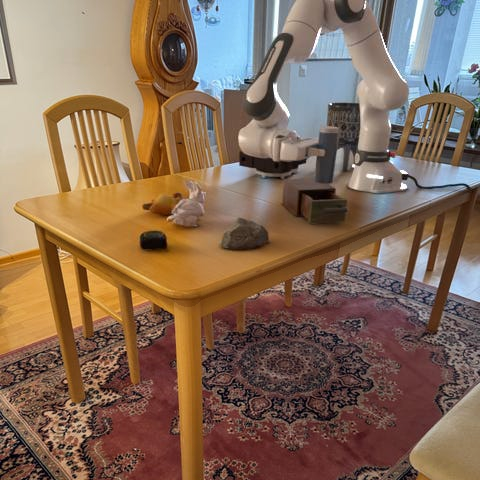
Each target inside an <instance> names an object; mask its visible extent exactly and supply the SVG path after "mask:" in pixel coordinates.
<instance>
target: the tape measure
mask: <svg viewBox="0 0 480 480" xmlns="http://www.w3.org/2000/svg"><path fill="white" fill-rule="evenodd" d="M167 240H168V239H167V236H166V233H165V232H164V231H161V230H156V229H155V230H146V231H144V232H142V233H140V235H139V246H140V249H142V250H146V251H147V250H150V251H155V250H165V249H167V248H168V242H167Z"/></svg>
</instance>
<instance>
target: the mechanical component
mask: <svg viewBox="0 0 480 480" xmlns="http://www.w3.org/2000/svg"><path fill="white" fill-rule="evenodd" d="M286 130H288V129H287V128H286ZM309 159H310V157H308V158H305V159H303V160H299V161H291V162H287V161H279V162H277V161H273V159H272V158H259V157H254V156H250V155H247V154H245V153H244V152H243V151H242V150H240V151H239V157H238V161H239V162H238V166H239V167H243V168H249V169H254V170H255V173H256V174H257V175H259V176H261V177H262V178H263V179H266V178H267V177H271V178H272V177H273V178H277V177H278V178H279V177H280V180H284V179H285V177H287V176H289V177H290V176H291V175H292V174H293V173H294V174H297V173H298V172H299V166H301V165H305V164H307V160H309Z"/></svg>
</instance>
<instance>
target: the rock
mask: <svg viewBox="0 0 480 480" xmlns="http://www.w3.org/2000/svg"><path fill="white" fill-rule="evenodd" d="M269 241H270V237H269V231H268V230H267V229H266V228H265V227H264V225H261V224H258V223H257V222H255V221H253V220H247V219H245V218H242V217H237V218H236V219H235V220H234V222H233V223H232V224H231V225H230V226H228V227H227V229H225V230H224V232H223V236H222V238H221V242H220V244H221V247H223V248H224V249H230V250H232V251H244V250H248V249H249V250H250V249H251V250H252V249H256V248H259V246H261V245H265V243H266V242H267V243H268V242H269Z"/></svg>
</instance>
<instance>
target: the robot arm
mask: <svg viewBox="0 0 480 480" xmlns="http://www.w3.org/2000/svg"><path fill="white" fill-rule="evenodd" d="M339 29H340V30H341V31H342V36H343V39H344V41H345V44H346V45H345V46H346V47H347V50H348V54H349V57H350V59H351V62H352V64H353V66H354V69H355V71H356V72H357V73H358V75H360V77H361V79H362V80H360V82H358V85H357V88H356V97H357V100H358V103H359V104H360V135H359V142H358V148H357V149H356V155H355V165H354V164H352V168H353V170H352V173H351V177H350V180H349V182H348V184H347V187H348V188H350V189H352V190H355V191H359V192H367V193H373V194H386V193H395V192H403V191H407V190H408V186H407V185H406V184H404V183H403V181H408V179H411V180H412V181H413V182H414V185H415V186H416V187H417V188H418V189H423V190H425V189H426V190H433V189H435V190H436V189H444V188H451V187H465V188H467V189H468V190H469V189H471V186H470V185H469V184H467V183H464V182H461V183H449V184H442V185H432V186H423V185H420V184H419V183H418V179H416V177H415V176H413V175H410V174H409V173H408V172H406V171H405V170H400V169H399V168H398V167H397V166H396V165H395V164H394V163H393V162H392V160H391V158H392V159H396V157H397V153H396V152H395V151H389V145H390V140H391V134H392V125H391V123H390V117H389V112H392V111H396V110H398V109H401V108H402V107H403V106H404V105H405V104H406V103H407V101H408V98H409V95H410V87H409V85H408V82H407V81H405V79H403V78H402V76H401V75H400V73H399V71H398V69H397V68H396V65H395V64H394V62H393V61H392V59H391V57H390V55H389V53H388V51H387V48H386V45H385V42H384V39H383V36H382V33H381V30H380V27H379V23H378V21H377V18H376V16H375V13H374V11H373V10H372V7H371V6H370V4H369V2H368V1H367V0H295V1H294V3H293V5H292V7H291V9H290V11H289V12H288V15H287V17H286V19H285V22H284V25H283V27H282V31H281V33H279V34H278V35H276V36H275V38H274V39H273V41H272V42H271V44H270V46H269V48H268V50H267V52H266V54H265V56H264V58H263V60H262V63H261V64H260V67H259V69H258V71H257V73H256V75H255V77H254V78H253V80H252V82H251V83H250V84H249V85H248V87H247V89H246V90H245V92H244V95H243V98H242V107H243V110H244V112H245V113H246V114H247V115H248V116H249V117H250V118H251V121H250V122H249V123H248V124H246V126H244V127H242V128H241V129H240V130H239V131H238V135H237V141H238V146H239V148H240V151H243V152H244V153H245V154H247V155H250V156H254V157H259V158H272V159H273V161H277V162H279V161H287V162H291V161H299V160H303V159H305V158H308V157H309V158H310V157H317V156H325V155H326V149H318V139H319V137H310V136H307V137H300V135H298V134H297V132H296V130H291V129H287V127H288V125H289V122H290V113H289V110H288V108H287V106H286V105H285V103H284V102H283V101H282V99H281V98H280V96H279V94H278V91H277V84H278V81H279V80H280V79H279V78H280V76H281V74H282V71H283V70H284V67H285V66H286V64H287V63H290V64H302V63H305V62H306V61H308V60H309V59H310V57H311V56H312V54H313V52H314V50H315V48H316V45H317V43H318V39H319V37H320V36H323V35H325V34H329V33H333V32H336V31H338V30H339ZM286 129H287V130H286ZM309 158H308V159H309Z"/></svg>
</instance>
